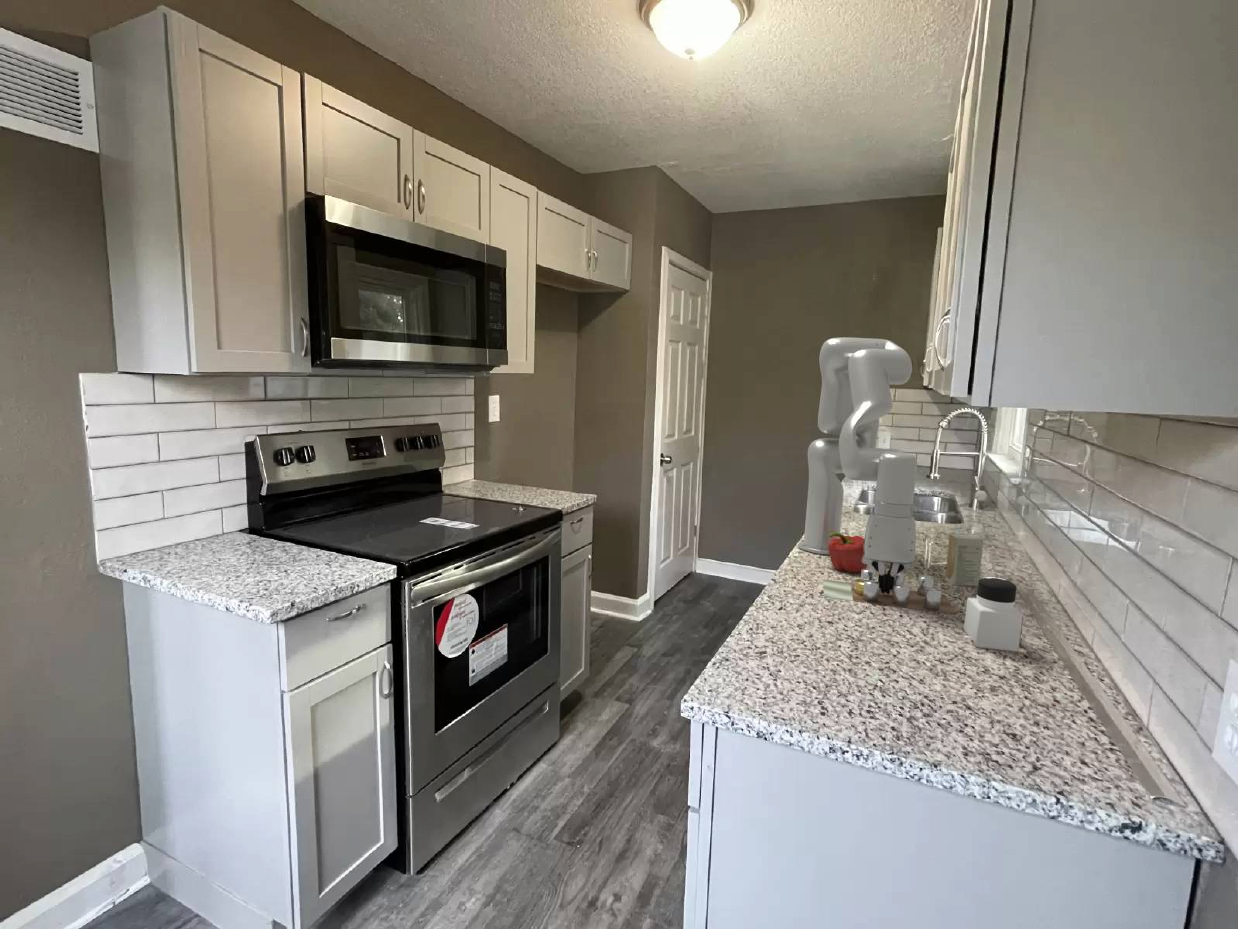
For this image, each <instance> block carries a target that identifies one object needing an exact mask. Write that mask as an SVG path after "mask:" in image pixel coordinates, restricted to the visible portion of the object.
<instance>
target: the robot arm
mask: <svg viewBox="0 0 1238 929" xmlns="http://www.w3.org/2000/svg"><path fill="white" fill-rule="evenodd" d="M818 358H819V359H818V361H819V368H820V375H821V390H820V399H819V406H818V414H817V428H818V429H819V431H820V432H822V433H824V434H829V435H839V438H828V437H826V438H825V437H823V438H818V439H815V440H813V441H812V442H811V443H810V444H809V446H808V447H807V448H808V449H807V465H808V486H807V501H806V511H805V522H804V524H805V525H804V535H803V536H804V539H803V540H800V541H801V542H800V541H798V543H799V542H800V543H799V544H798V543H797V547H798V548H799V549H801V550H802V551H805V552H809V553H813V554H819V555H828V556H830V554H829V550H828V546H829V543H830V540H832V539H835V538H836V539H838V538H840V537H838V536H833V537H832V538H831V537H829V535H830V534H831V533H840V534H841V526H842V515H843V504H844V494H845V493H844V491H845V490H844V487H843V486H844V485H843V484H842V482H841V480H840V479H839V478H838V477H837V474H844V476H845V477H846V478H848V479H849V480H852V481H858V482H860V481H861V482H863V481H865V482H866V481H867V482H876V486H875V487H876V488H875V498H874V508H873V512H871V513H869V515H868V518H867V522H866V523H867V524H866V526H865V533H864V547H863V552H864V554H863V556H862V559H861V560H862V563H864V564H867V566H872V567H873V569H874V570H875V571H876V573H877V574H878V579H877V582H879V588H880V590H881V593H885V592H886V593H887V594H890V589H891V590H893V584H894V577H895V576H896V574H898V573H902V571H903V570H913V569H915V568H916V566H915V558H916V548H917V547H916V544H917V543H916V539H917V533H916V530H917V529H916V528H917V527H916V520H915V517H914V516H913V515H914V514H920V512H921V507H920V506H917V505H914V498H915V497H914V496H915V487H916V479H917V470H918V459H917V457H916V456H915V455H913V454H910V453H905V452H904V451H903V450H901V449H896V448H882V447H876V446H877V440H878V434H879V427H880V426H879V425H880V418H881V419H882V418H883V417H885V416H886V415H888V414H890V412H891V410H892V409H893V400H892V394H891V388H890V385H893V386H894V385H896V386H897V385H898V386H899V385H901V386H902V385H904V384H906V383H907V382H909V379H910V378H911V377H912V376H911V375H912V372H913V364H912V360H911V357H910V355H909V354H908V352H907V350H905V349H904V348H902V347H901V346H899V345H897V344H896V343H894V342H893V341H891V340H888V339H884V338H870V337H869V338H865V337H864V338H863V337H833V338H829V339H827V340H825V341H824V342H823V344H822V346H821V348H820V352H819V357H818ZM885 563H890V565H889V569H888V571H887V572H886V570H885Z"/></svg>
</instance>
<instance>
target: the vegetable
mask: <svg viewBox="0 0 1238 929" xmlns="http://www.w3.org/2000/svg"><path fill="white" fill-rule="evenodd" d="M833 536H838V537H840V538H838V539H836V538H835V539H832V540H830V543H829V546H828V550H829V554H830V555H829V558H830V562H831V564H832V566H833V568H834V569H835V570H837V571H840V572H841V571H842V572H844V571H845V572H847V573H850V574H861V571H862V569H865V568H866V569H867V566H868V565H867V564H864V563H862V560H861V559H862V556H863V554H864V552H863V547H864V539H865V537H863V536H860V535H854V536H850V535H844V534H842V533H841V532H840V533H831V534H830V535H829V537H831V538H832V537H833Z"/></svg>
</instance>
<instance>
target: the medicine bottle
mask: <svg viewBox="0 0 1238 929" xmlns="http://www.w3.org/2000/svg"><path fill="white" fill-rule="evenodd" d="M1017 588H1018V587H1017V586H1016V584H1015V583H1013V582H1011V581H1010V580H1008V579H1004V578H1002V577H1001V578H1000V577H994V576H986V577H980V579H979V581H978V587H977V590H976V598H975V597H968V598H967V599H966V608H965V616H964V626H963V630H964V632H965V633H966V634H967V635H968V637H969V638H970V639H972V640H970V641H971V643H972V644H973V645H974V646H975V647H976V648H978V649H979V648H981V649H989V650H998V651H1006V652H1016V653H1017V652H1019V649H1020V643H1021V642H1020V641H1021V635H1022V630H1023V628H1022V627H1023V622H1024V614H1023V613H1022V612H1021V611H1019V610H1018V609H1017V608H1015V604H1016V596H1017Z"/></svg>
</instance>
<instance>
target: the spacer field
mask: <svg viewBox="0 0 1238 929" xmlns="http://www.w3.org/2000/svg"><path fill="white" fill-rule="evenodd" d="M876 573H877V571H876V570H875V569H872V568H867V567H866V568H865V569H862V571H861V573H860V579H865V581H864V589H863V600H864V601H867V602H872V603H875V602H877V601H878V591H879V582H878V580H876ZM904 581H905V573H902V572H899V573H898V574H896V576H895V577H894V584H893V590H891V589H890V592H893V593H894V594H893V604H894V605H897V606H901V607H907V606H908V601H909V592H910V590H911V587H910V585H908V584H905V582H904ZM934 583H935V578H934V577H933V576H929V575H926V574H925V575H922V574H921V575H919V576H918V582H917V590H916V591H917V594H918V595H920V596H923V597H924V606H923V607H924V608H925V609H927V610H931V611H939V609H940V600H941V594H942V590H941V589H940V588H935V587H934ZM901 607H900V608H901Z"/></svg>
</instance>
